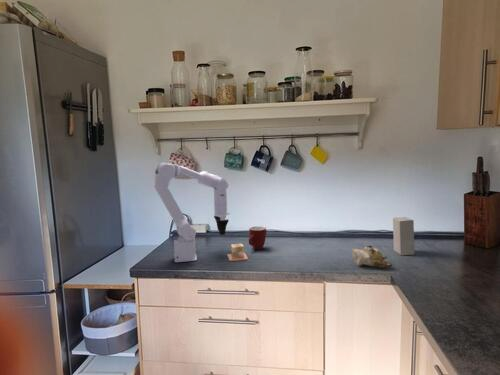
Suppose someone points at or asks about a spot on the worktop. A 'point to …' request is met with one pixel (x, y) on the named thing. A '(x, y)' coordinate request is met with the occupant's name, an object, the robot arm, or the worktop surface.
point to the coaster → (237, 258)
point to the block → (237, 250)
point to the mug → (257, 237)
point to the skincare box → (403, 235)
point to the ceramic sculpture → (369, 257)
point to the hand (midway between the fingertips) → (221, 232)
